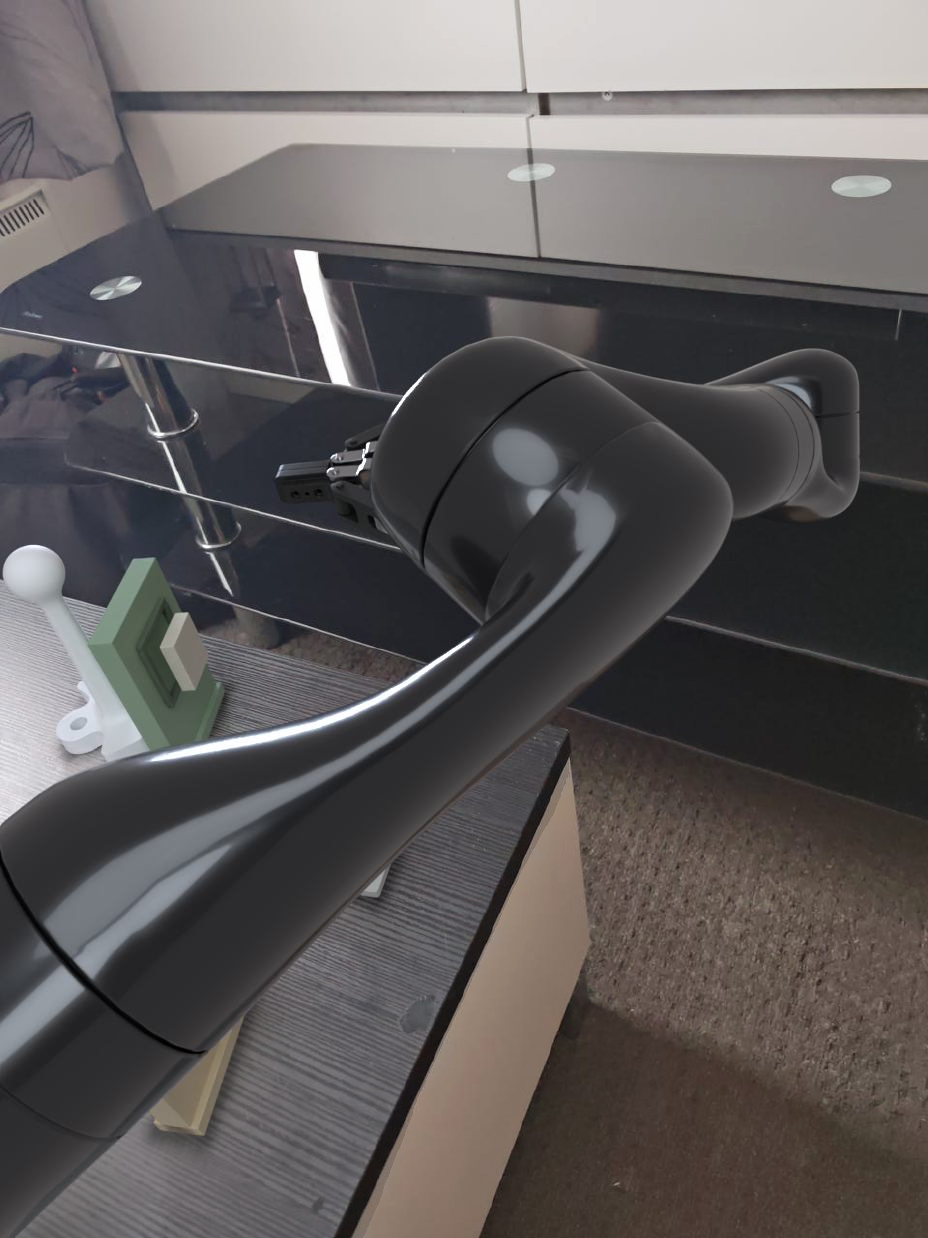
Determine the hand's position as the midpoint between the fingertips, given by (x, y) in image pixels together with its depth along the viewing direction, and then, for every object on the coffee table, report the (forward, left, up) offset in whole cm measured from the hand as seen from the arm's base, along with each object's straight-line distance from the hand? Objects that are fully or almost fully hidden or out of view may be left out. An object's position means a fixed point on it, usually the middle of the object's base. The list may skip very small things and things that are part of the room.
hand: (279, 484), depth 62 cm
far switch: (-6, +11, -17) cm, 22 cm away
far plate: (-7, +13, -25) cm, 29 cm away
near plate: (-26, -9, -25) cm, 37 cm away
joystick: (-11, +21, -25) cm, 35 cm away
